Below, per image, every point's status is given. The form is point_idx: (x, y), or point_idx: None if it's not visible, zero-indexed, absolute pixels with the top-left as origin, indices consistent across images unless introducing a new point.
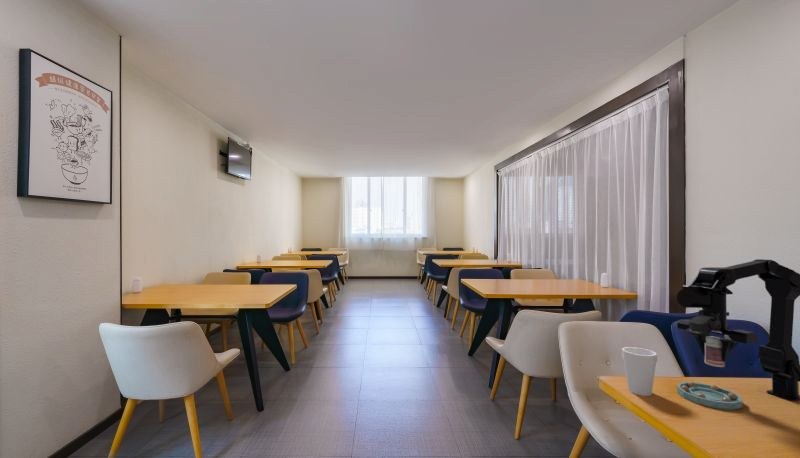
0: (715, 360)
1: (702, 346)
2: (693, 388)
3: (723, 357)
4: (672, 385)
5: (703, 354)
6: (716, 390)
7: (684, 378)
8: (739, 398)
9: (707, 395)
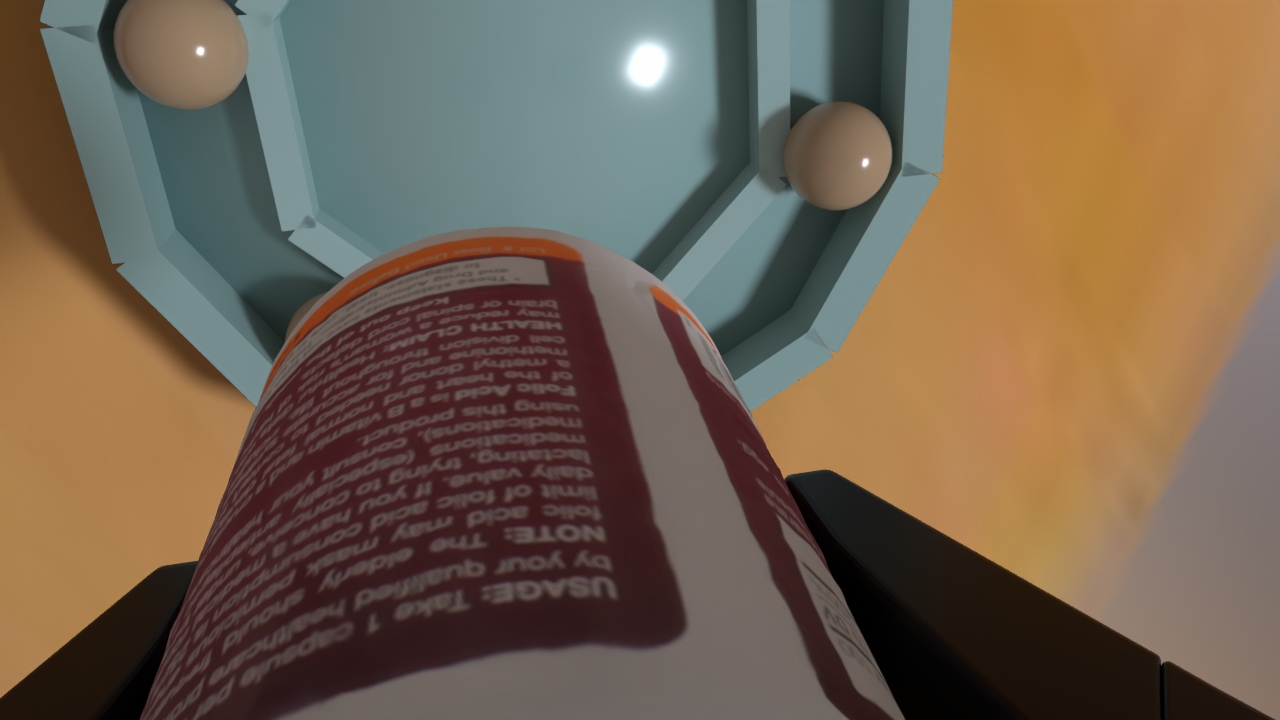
0: (297, 370)
1: (958, 648)
2: (755, 71)
3: (105, 633)
4: (1044, 13)
5: (826, 480)
6: None
7: (1118, 452)
8: (227, 344)
9: (539, 90)
